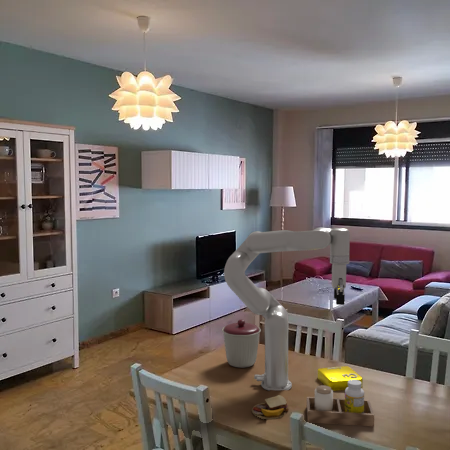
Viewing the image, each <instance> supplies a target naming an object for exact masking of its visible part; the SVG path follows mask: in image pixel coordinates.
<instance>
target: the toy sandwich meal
mask: <svg viewBox="0 0 450 450" xmlns="http://www.w3.org/2000/svg"><path fill="white" fill-rule="evenodd" d="M288 411H289V405H288V401H287V399H286V398H285V397H284V396H283V395H281V394H278V395H276V396H272V397H269V398H264V402H261V403H258V404H255V405H253V407H252V408H251V412H252V414H253V415H254V416H255V417H256V416H257V417H256V418H258V417H259V418H258V419H260V418H261V420H264V419H266V420H265V421H267V420H274V419H275V420H276V419H279V418H282V417H284V416H285V415H286V412H288Z"/></svg>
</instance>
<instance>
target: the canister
mask: <svg viewBox="0 0 450 450" xmlns="http://www.w3.org/2000/svg"><path fill="white" fill-rule="evenodd" d="M221 332H222V333H223V339H224V340H223V341H224V350H225V356H226V361H227V363H228V364H229V365H230V366H231V367H234V368H241V369H242V368H249V367H252V366H254V365H255V363H256V361H257V357H258V349H259V342H260V341H259V339H260V333H261V332H262V329H261V327H260V326H257V325H256V324H253V323H250V322H246V321H245V320H244V319H238V320H237V322H234V323H233V322H232V323H228V324H226V325H224V326H223V327H222V329H221Z"/></svg>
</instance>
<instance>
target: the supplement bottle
mask: <svg viewBox="0 0 450 450" xmlns="http://www.w3.org/2000/svg"><path fill="white" fill-rule="evenodd" d="M361 386H362V388H361ZM344 399H345V412H350V413H364V400H365V391H364V389H363V385H361V381H359V380H349V381H348V387H347V388H346V389H345V390H344Z"/></svg>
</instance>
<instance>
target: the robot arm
mask: <svg viewBox="0 0 450 450" xmlns="http://www.w3.org/2000/svg"><path fill="white" fill-rule="evenodd" d="M350 235H351V233H350V230H349V229H348V228H340V227H339V228H338V227H337V228H336V227H335V228H327V227H316V228H314V229H313V230H304V231H295V230H294V231H292V230H287V229H283V230H282V229H281V230H273V231H259V230H257V231H253V232H251V233H250V234H249V235H248V236H247V237H246V238H245V240H244V241H243V242H242V243H241V244H240V245H239V246H238V247H237V249H235V251H234V252H232V254H231V255H230V256H229V257H228V259H227V260H226V263H225V266H224V269H223V277H224V281H225V283H226V285H227V286H228V288H229V289H230V290H231V291H232V292H233V293H234V295H236V296H237V298H238V299H239V300H240V301H241V302H242V303H243V304H244V305H245V306H246V307H247V308H248V310H249V311H251V313H252V314H254V315H257V316H259V315H261V317H263V318H264V373H262V374H254V378H253V379H254V380H256V381H257V382H260V383H261V384H260V386H261V387H262V388H263V389H264V390H267V391H289V390H290V389H291V388H292V386H293V384H292V383H293V382H291V381H290V380H289V314H288V311H287V310H286V308H285V307H284V306H283V305H282V304H281V303H280V302H279V300H278V299H276V297H275V296H273V294H272V293H271V292H269V291H268V290H267V289H266V288H264V287H258V286H257V285H255V283H254V282H253V281H252V280H251V279H250V278H249V277H248V276H247V275H246V270H247V269H248V267H249V266H250V264H251V263H252V262H253V261H254V260H255V259H256V258H257V257H258V256H259V255H260V254H266V253H267V254H268V253H275V252H295V251H296V252H297V251H298V252H299V251H314V250H315V251H316V250H323V249H326V248H328V247H329V264H332V265H331V283H330V284H331V286H332V289H333V299H334V300H335V304H336V305H337V306H339V305H340V306H343V305H345V303H346V302H345V297H346V296H345V289H346V285H347V265H349V264H350V242H351V241H350Z"/></svg>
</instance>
